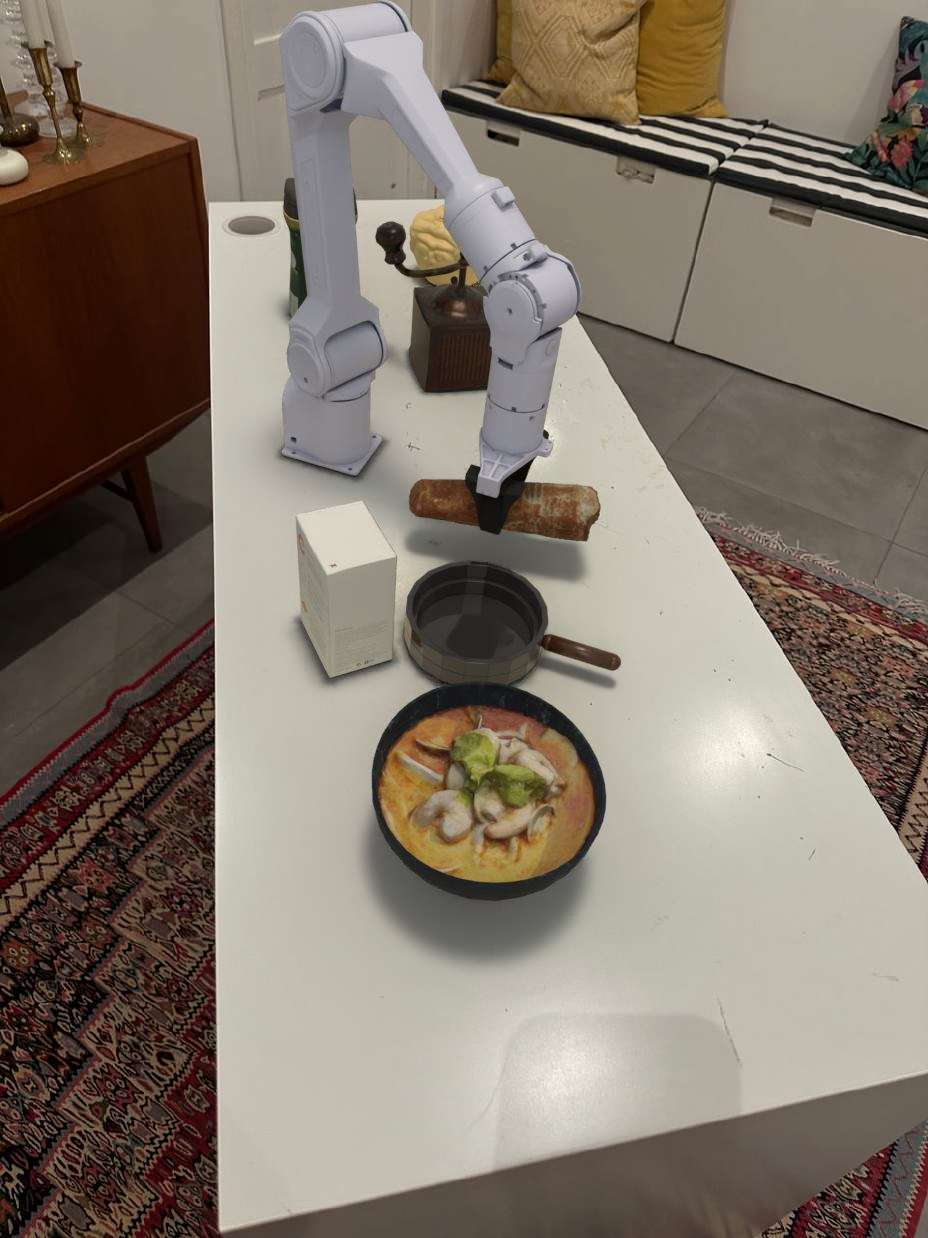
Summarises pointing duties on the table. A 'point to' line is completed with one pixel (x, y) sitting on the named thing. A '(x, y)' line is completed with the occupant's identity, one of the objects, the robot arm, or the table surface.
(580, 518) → the bread
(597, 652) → the pan handle
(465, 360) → the manual coffee grinder
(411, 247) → the sculpture
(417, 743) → the bowl
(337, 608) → the small box
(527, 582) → the pan
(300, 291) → the coffee jar
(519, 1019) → the table surface
